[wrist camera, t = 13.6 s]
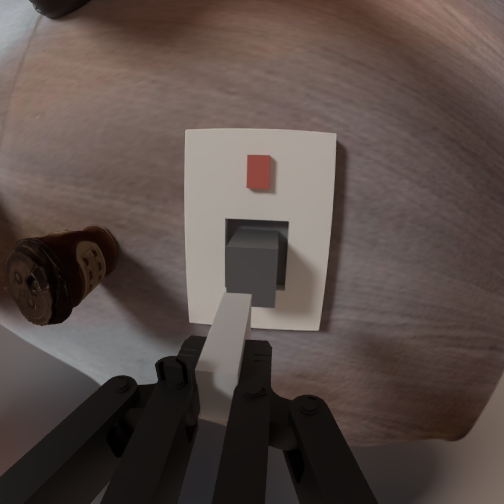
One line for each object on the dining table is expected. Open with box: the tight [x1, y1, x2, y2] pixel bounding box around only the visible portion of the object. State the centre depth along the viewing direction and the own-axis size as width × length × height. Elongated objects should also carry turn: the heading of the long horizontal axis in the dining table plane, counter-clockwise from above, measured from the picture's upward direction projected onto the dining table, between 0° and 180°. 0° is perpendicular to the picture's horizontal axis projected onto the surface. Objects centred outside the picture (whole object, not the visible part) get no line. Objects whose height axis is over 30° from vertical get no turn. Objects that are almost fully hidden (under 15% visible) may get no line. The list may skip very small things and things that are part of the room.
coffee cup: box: [5, 225, 117, 326], centre depth 26 cm, size 9×8×13 cm
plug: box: [226, 229, 278, 308], centre depth 27 cm, size 5×4×7 cm
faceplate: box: [184, 128, 336, 331], centre depth 28 cm, size 20×14×3 cm
